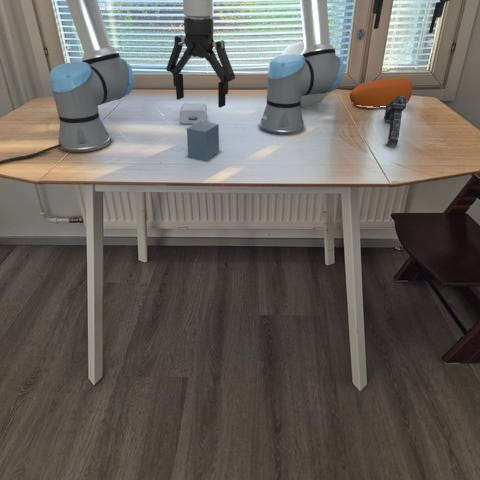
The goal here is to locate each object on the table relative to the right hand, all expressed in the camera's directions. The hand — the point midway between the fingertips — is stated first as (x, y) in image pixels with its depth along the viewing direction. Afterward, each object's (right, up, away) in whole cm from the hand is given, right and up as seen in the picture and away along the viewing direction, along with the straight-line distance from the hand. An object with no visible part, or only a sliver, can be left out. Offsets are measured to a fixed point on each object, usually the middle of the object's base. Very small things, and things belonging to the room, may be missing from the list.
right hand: (402, 30), depth 105 cm
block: (-53, -28, +19) cm, 63 cm away
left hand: (-53, -15, +10) cm, 56 cm away
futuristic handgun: (+10, -18, +35) cm, 41 cm away
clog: (+14, +1, +62) cm, 64 cm away
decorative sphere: (-17, +1, +62) cm, 64 cm away
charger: (-59, -8, +47) cm, 76 cm away
